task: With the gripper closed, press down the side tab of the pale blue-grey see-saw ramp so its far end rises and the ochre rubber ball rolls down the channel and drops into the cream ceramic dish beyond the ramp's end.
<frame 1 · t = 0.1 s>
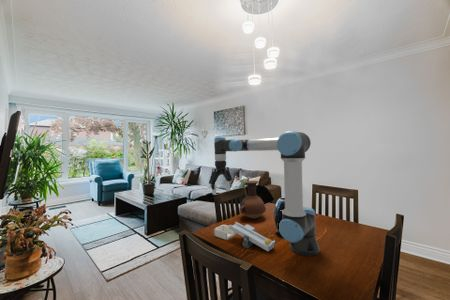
hand: (221, 192, 134), 28 cm above the table, fingers open, 13 cm apart
trunnion stand: (250, 243, 120), on the table
ball: (268, 242, 112), point 4 cm above the table, tilted 22°, touching seesaw
vase: (253, 218, 163), on the table
seesaw: (253, 232, 122), point 6 cm above the table, hinge at -12.0°, touching ball
dish: (225, 235, 133), on the table
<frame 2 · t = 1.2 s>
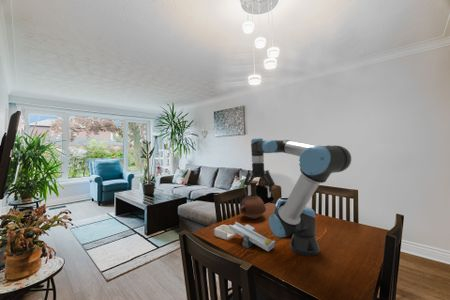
hand: (259, 196, 128), 26 cm above the table, fingers open, 13 cm apart
nothing on the table moved.
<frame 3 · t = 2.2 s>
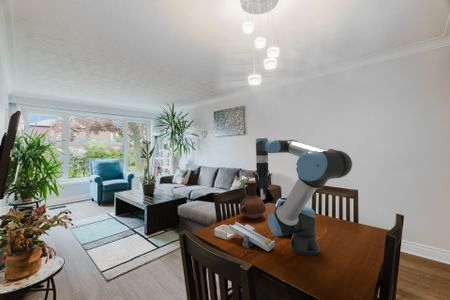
hand: (262, 199, 129), 24 cm above the table, fingers closed
nothing on the table moved.
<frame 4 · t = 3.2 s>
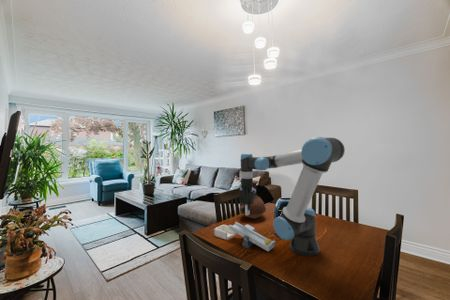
hand: (247, 214, 129), 14 cm above the table, fingers closed
nothing on the table moved.
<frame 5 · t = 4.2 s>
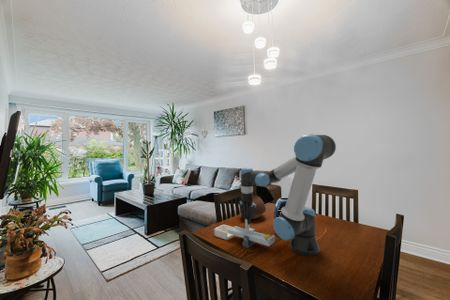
hand: (247, 228, 129), 5 cm above the table, fingers closed
ball: (267, 237, 113), point 7 cm above the table, tilted 9°, touching seesaw
seesaw: (253, 232, 122), point 6 cm above the table, hinge at 0.2°, touching ball, gripper
everything else where it was.
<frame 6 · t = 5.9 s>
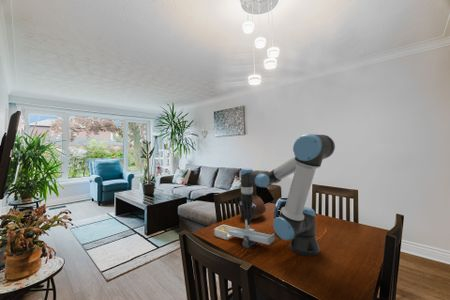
hand: (247, 229, 129), 5 cm above the table, fingers closed
ball: (222, 231, 135), point 2 cm above the table, tilted 17°, touching dish
seesaw: (253, 232, 122), point 6 cm above the table, hinge at 4.0°, touching gripper
everything else where it was.
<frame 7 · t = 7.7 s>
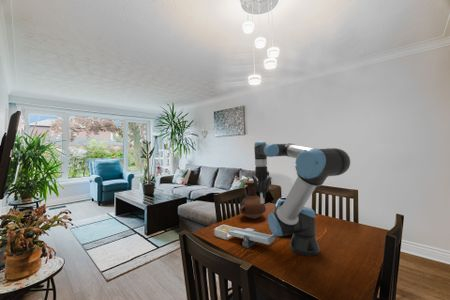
hand: (262, 203, 129), 22 cm above the table, fingers closed
ball: (223, 231, 134), point 2 cm above the table, tilted 20°, touching dish
seesaw: (253, 232, 122), point 6 cm above the table, hinge at 4.0°
everything else where it was.
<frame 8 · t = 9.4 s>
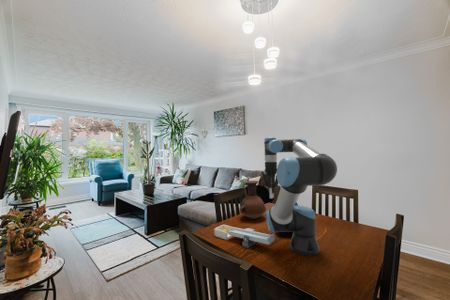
hand: (271, 197, 130), 24 cm above the table, fingers closed
ball: (224, 231, 133), point 2 cm above the table, tilted 54°, touching dish
everything else where it was.
at the end: ball inside the target area on the dish (0.1 cm from its centre), point 2.1 cm above the dish's base; ball touching dish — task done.
